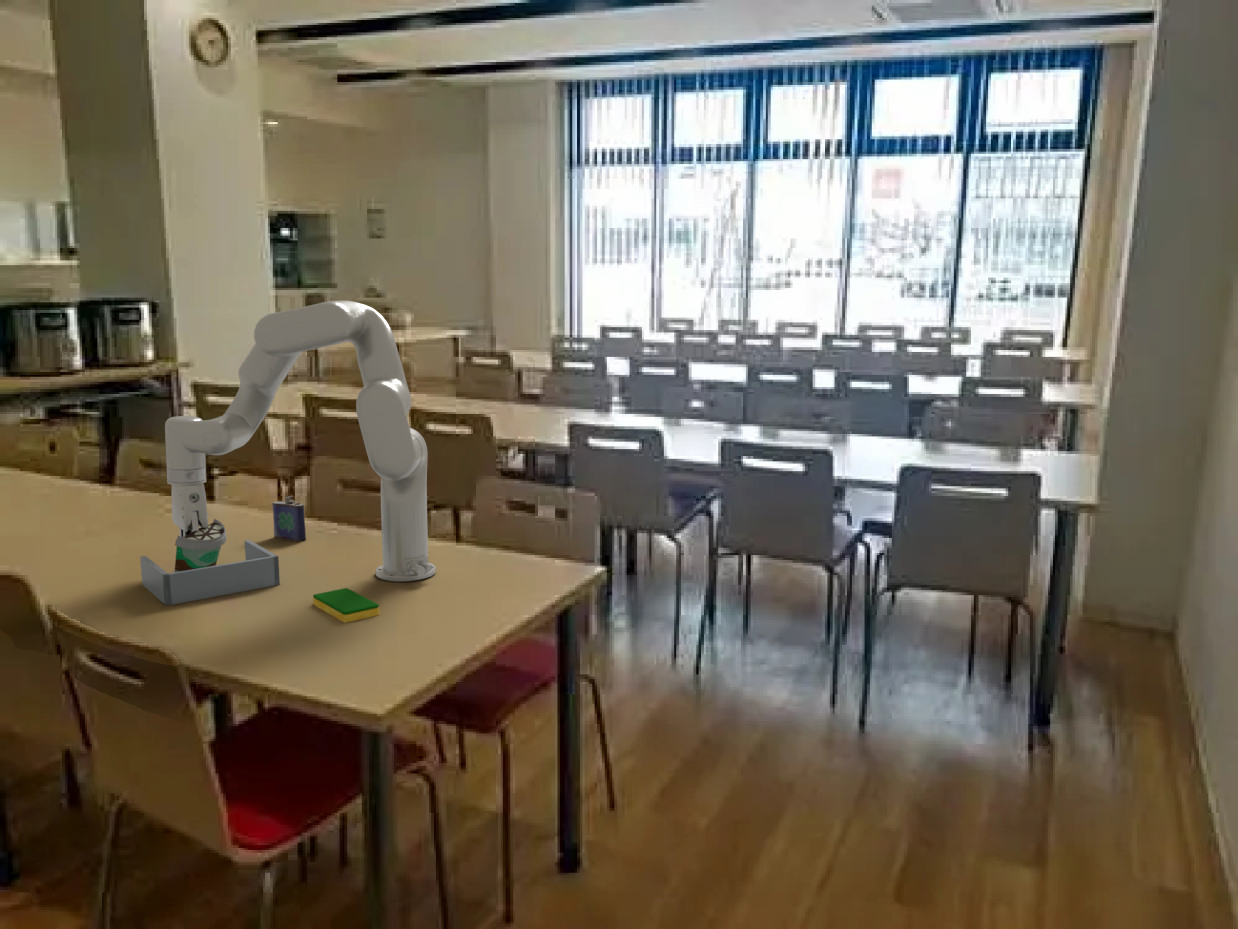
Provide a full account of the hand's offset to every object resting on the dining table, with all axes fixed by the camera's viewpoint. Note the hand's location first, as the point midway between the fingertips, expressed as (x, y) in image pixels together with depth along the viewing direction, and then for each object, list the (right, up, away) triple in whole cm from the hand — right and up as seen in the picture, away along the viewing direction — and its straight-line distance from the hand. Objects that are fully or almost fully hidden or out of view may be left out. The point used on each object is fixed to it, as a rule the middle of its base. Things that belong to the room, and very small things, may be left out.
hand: (189, 559), depth 206 cm
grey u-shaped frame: (+7, -4, -7) cm, 11 cm away
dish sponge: (+39, -8, -22) cm, 46 cm away
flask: (+11, +2, +30) cm, 32 cm away
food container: (+3, -3, -2) cm, 5 cm away
